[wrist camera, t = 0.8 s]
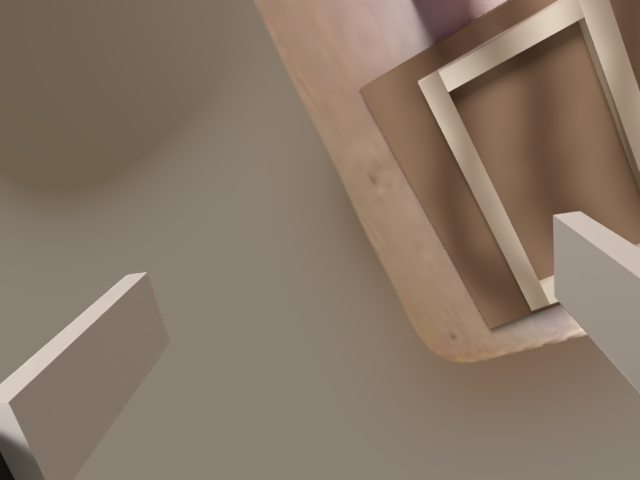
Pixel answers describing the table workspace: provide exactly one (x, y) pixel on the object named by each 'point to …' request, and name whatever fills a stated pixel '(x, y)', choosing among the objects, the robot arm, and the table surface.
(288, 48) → the table surface
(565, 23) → the locating board
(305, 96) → the table surface
